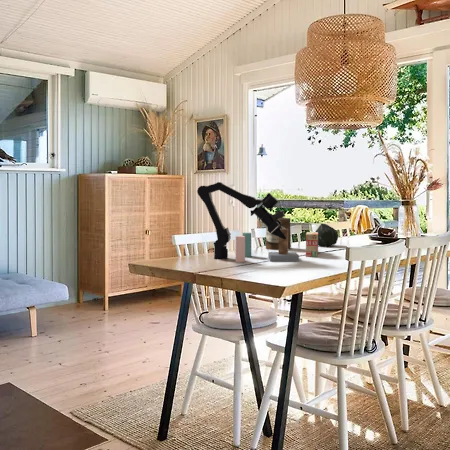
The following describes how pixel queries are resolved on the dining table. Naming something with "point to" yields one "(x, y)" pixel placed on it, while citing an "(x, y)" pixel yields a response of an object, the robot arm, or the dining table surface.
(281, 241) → the walnut block
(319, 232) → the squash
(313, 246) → the stack of blocks
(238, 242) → the dusty pink block
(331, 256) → the dining table surface
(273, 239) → the wooden container
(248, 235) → the muted teal block
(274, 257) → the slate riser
